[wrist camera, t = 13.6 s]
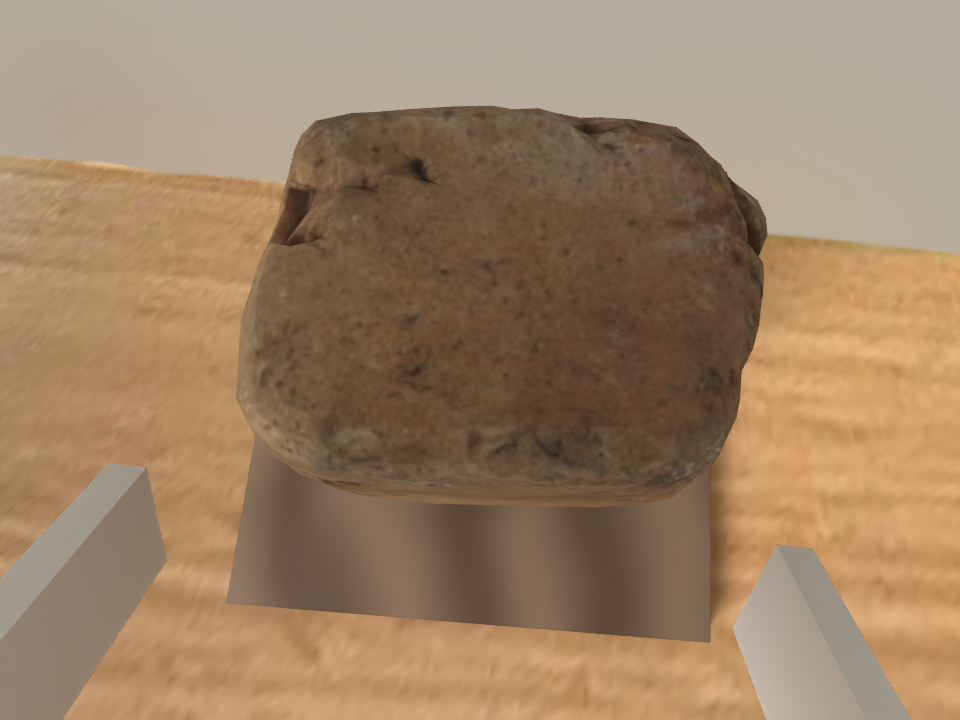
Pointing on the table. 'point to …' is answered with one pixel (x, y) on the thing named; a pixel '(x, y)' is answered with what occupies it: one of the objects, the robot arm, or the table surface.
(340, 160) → the block
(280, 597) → the walnut board
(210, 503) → the table surface
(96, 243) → the table surface
